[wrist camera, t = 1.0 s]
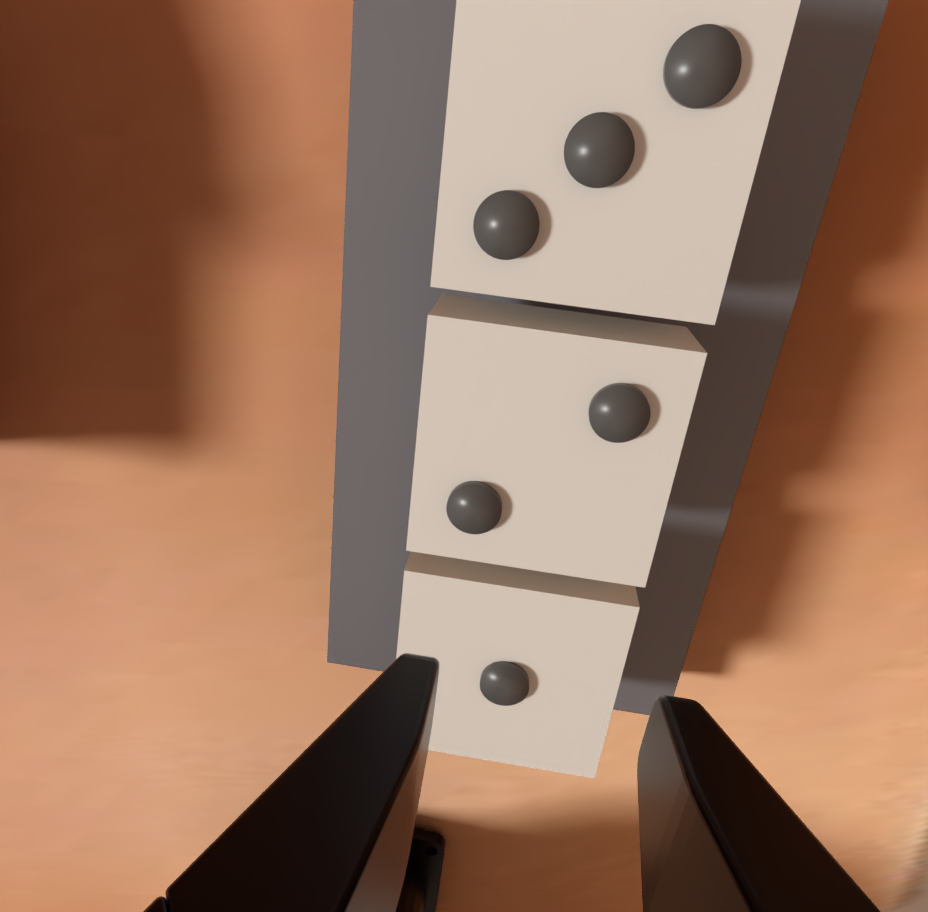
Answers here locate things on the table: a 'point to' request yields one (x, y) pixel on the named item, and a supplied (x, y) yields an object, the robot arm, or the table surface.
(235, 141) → the table surface
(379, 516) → the keypad board
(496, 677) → the key one
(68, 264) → the table surface
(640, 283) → the key three
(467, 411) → the key two
